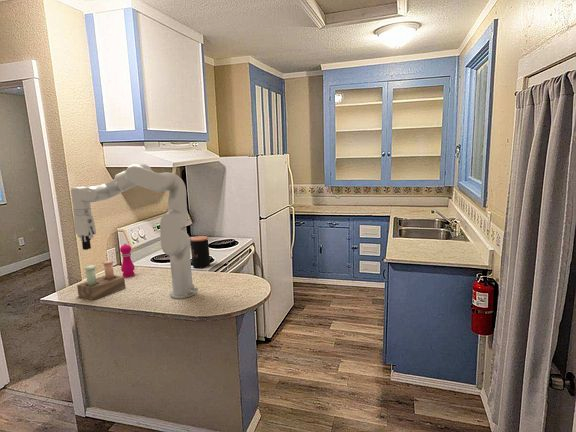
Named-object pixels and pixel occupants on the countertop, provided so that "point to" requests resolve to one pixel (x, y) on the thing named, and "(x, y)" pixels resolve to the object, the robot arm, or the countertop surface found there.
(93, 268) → the green plug
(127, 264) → the pepper mill
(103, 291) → the socket block
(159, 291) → the countertop surface
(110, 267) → the peach peg
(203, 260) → the coffee jar
